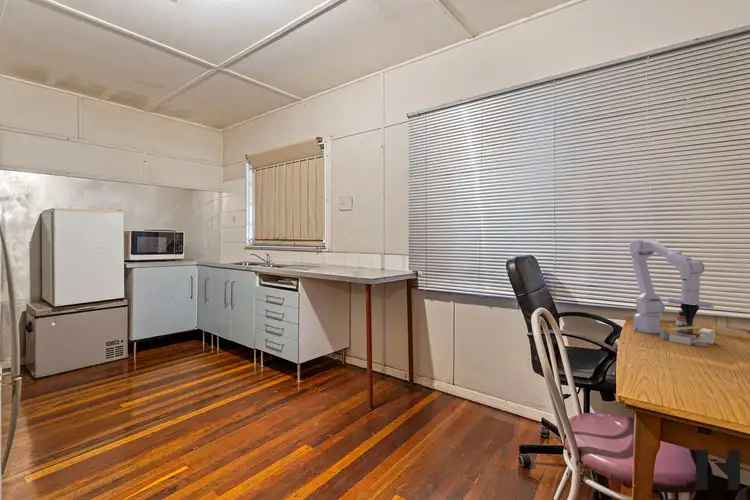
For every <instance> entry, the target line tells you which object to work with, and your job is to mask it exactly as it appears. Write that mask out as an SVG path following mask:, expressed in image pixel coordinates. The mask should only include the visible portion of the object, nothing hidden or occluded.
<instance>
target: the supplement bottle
mask: <svg viewBox="0 0 750 500" xmlns="http://www.w3.org/2000/svg"><path fill="white" fill-rule="evenodd" d="M689 326H694V321H693V322H692V323H691V324H689V323H686V318H685V315H684V313H683V311H682V309H681V310H680V309H679V311H678V314H677V315H676V317H675V328H679V327H689ZM693 331H694V329H685V330H675V332H677V333H682V334H688V335H693Z"/></svg>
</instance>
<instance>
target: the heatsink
mask: <svg viewBox="0 0 750 500" xmlns="http://www.w3.org/2000/svg"><path fill="white" fill-rule="evenodd" d="M696 338H697V336H696V335H693V334H690V335H689V334H682V333H677V332H676V331H675V332H672V333H671V334H669V337H668V339H669V342H671V343H676V344H682V345H687V346H691V345H695V340H697V339H696Z"/></svg>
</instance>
